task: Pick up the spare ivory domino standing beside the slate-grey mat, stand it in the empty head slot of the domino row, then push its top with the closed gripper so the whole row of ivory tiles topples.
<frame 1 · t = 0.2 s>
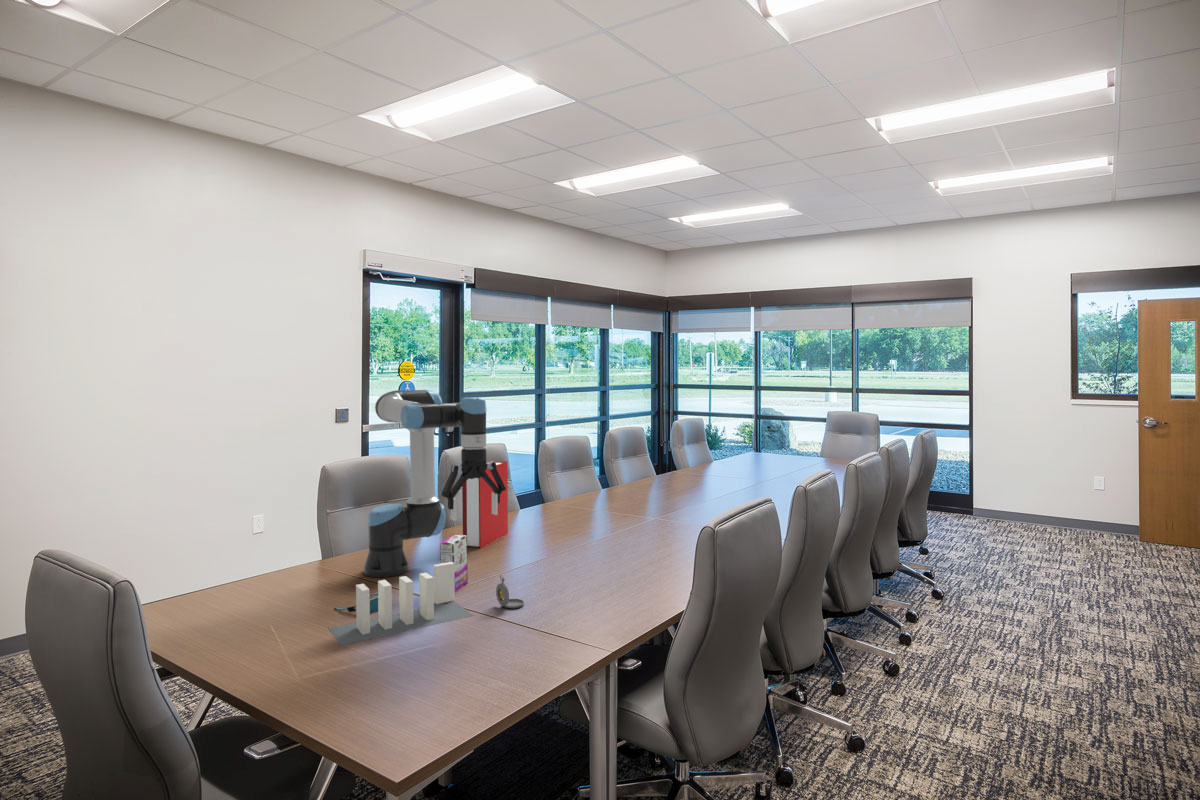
hand: (474, 517, 203), 27 cm above the table, fingers open, 13 cm apart
pocket watch: (509, 606, 202), on the table
domino 4: (385, 625, 185), resting on mat
domino 3: (406, 620, 189), resting on mat
domino 5: (363, 630, 182), resting on mat
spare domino: (444, 602, 205), on the table
candy bar box: (454, 588, 219), on the table
sunglasses: (365, 608, 202), on the table
domino 2: (426, 616, 192), resting on mat
book: (487, 540, 282), on the table
mat: (403, 623, 188), on the table
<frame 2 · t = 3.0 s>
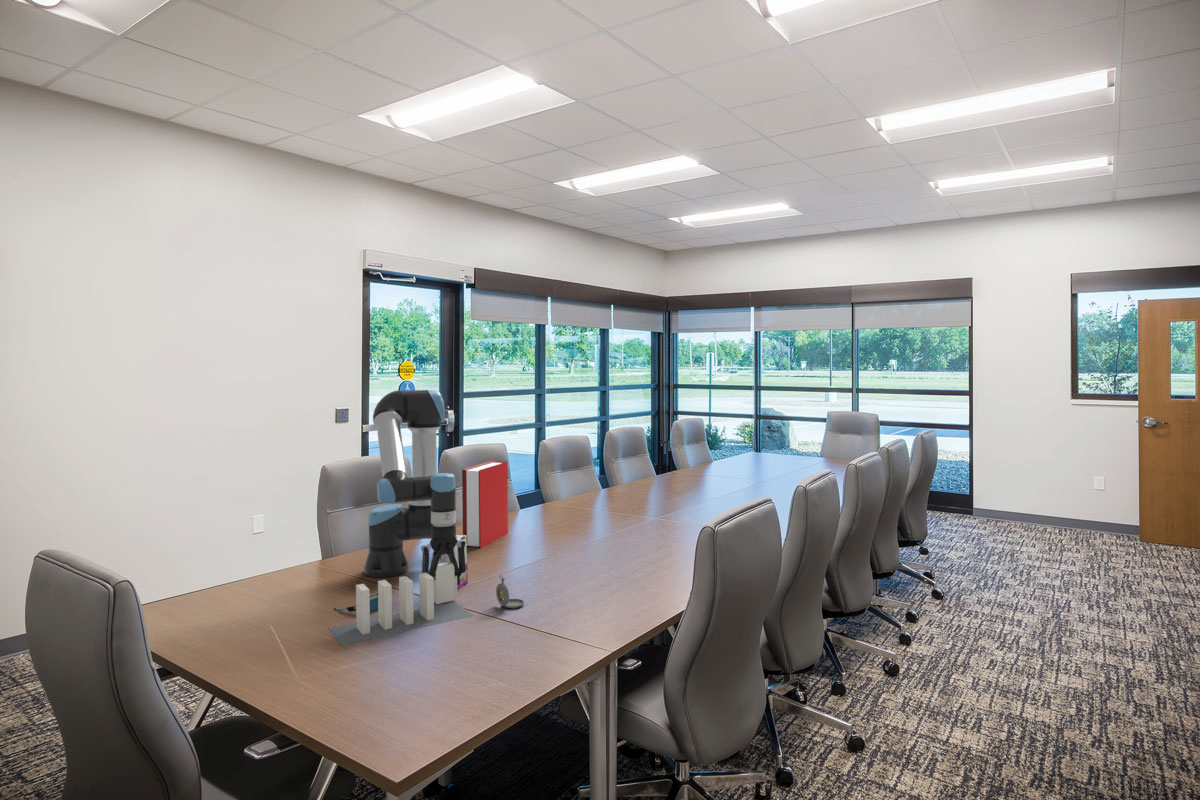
hand: (444, 597, 205), 1 cm above the table, fingers closed on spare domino, 6 cm apart
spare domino: (444, 602, 205), on the table, touching gripper
everything else where it was.
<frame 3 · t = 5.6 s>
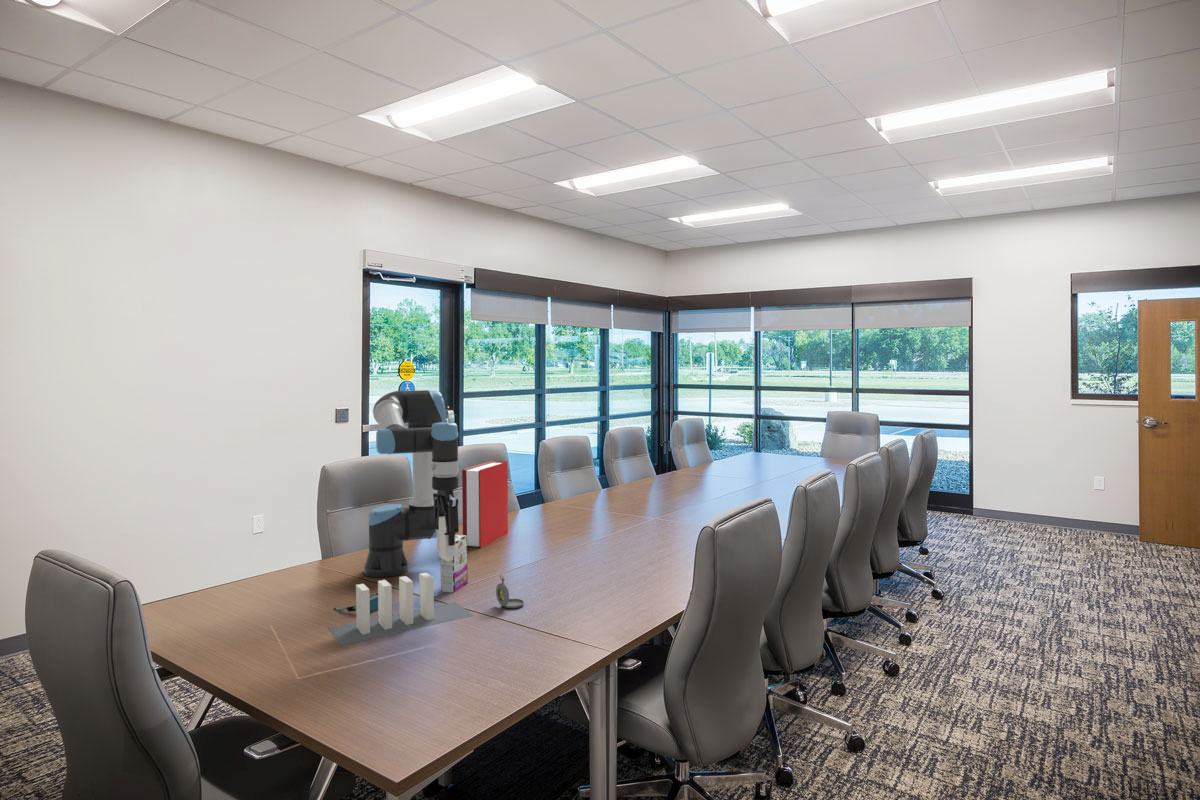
hand: (446, 553, 195), 18 cm above the table, fingers closed on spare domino, 6 cm apart
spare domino: (446, 558, 195), point 17 cm above the table, touching gripper
everything else where it was.
when the fingers open (3 cm above the table, at t = 8.4 s): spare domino drops 1 cm, resting on mat.
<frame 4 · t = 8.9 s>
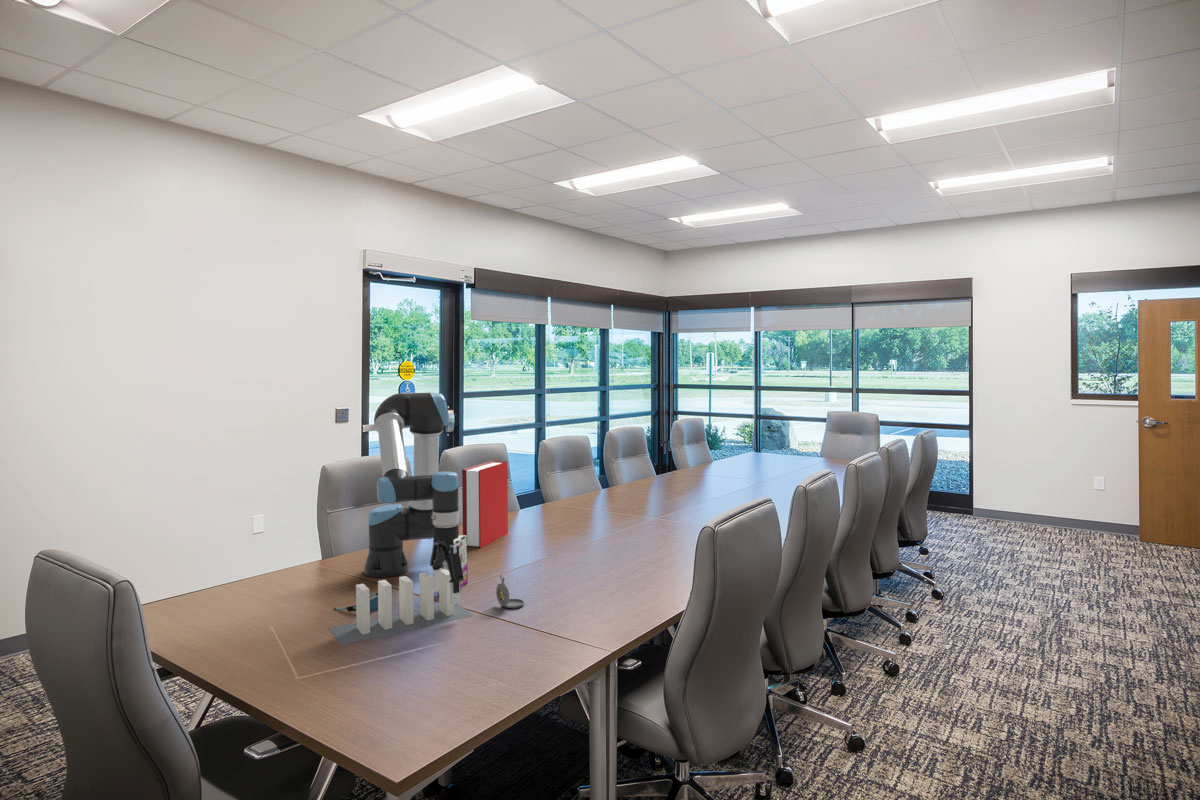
hand: (446, 597, 195), 5 cm above the table, fingers open, 12 cm apart
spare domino: (446, 612, 196), resting on mat
everything else where it was.
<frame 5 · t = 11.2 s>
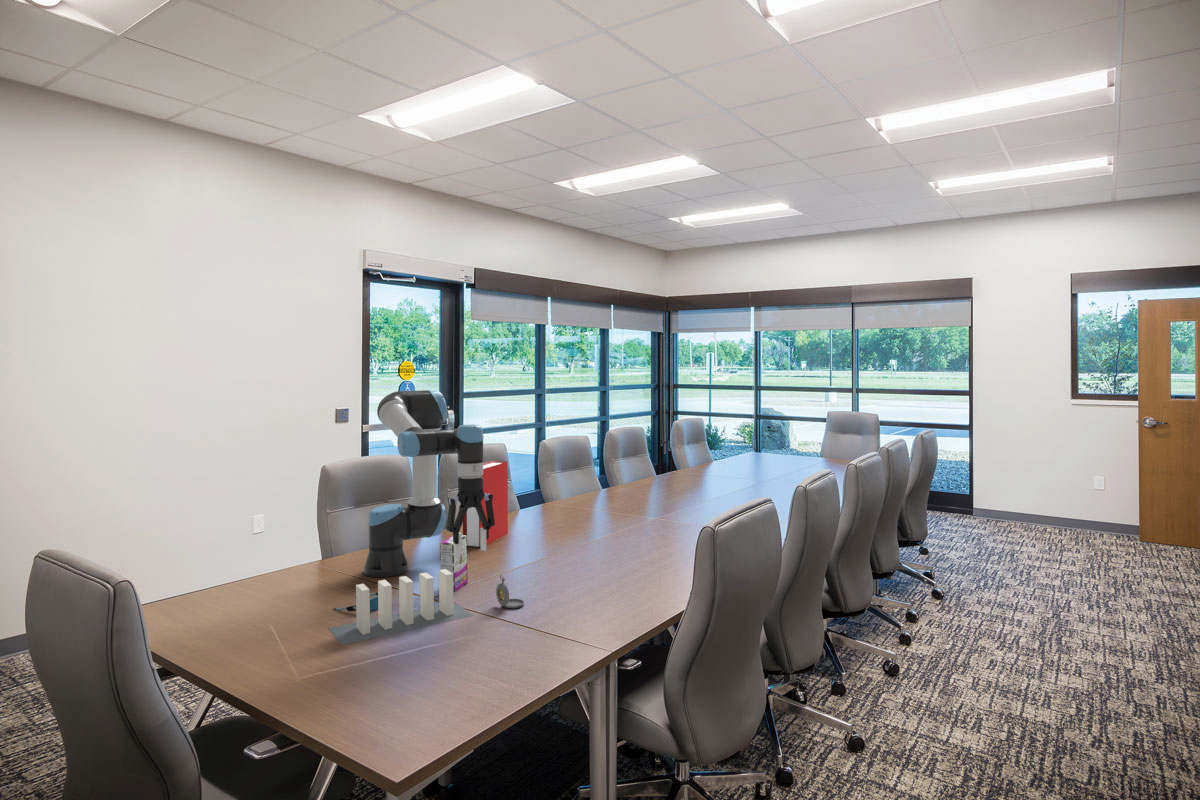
hand: (471, 552, 199), 17 cm above the table, fingers open, 7 cm apart
nothing on the table moved.
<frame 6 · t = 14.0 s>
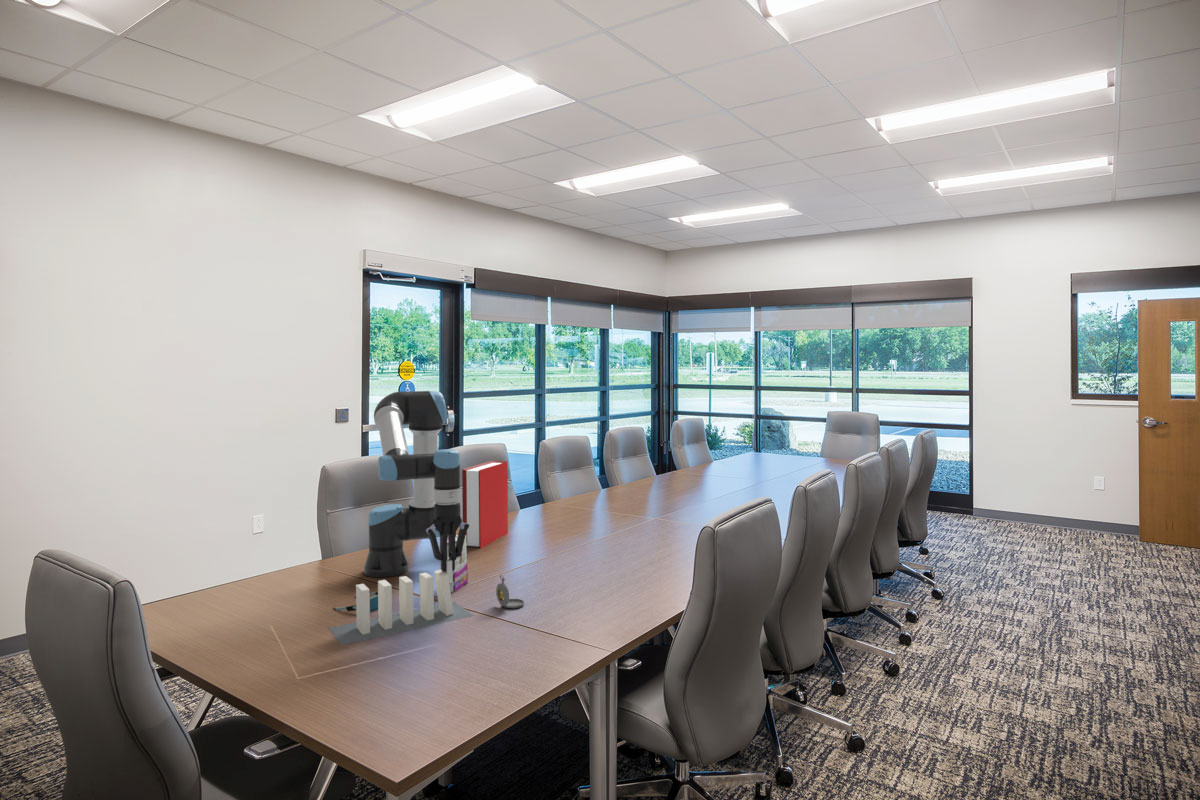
hand: (448, 581, 195), 9 cm above the table, fingers closed
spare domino: (446, 611, 195), point 1 cm above the table, tilted 8°, touching mat
everything else where it was.
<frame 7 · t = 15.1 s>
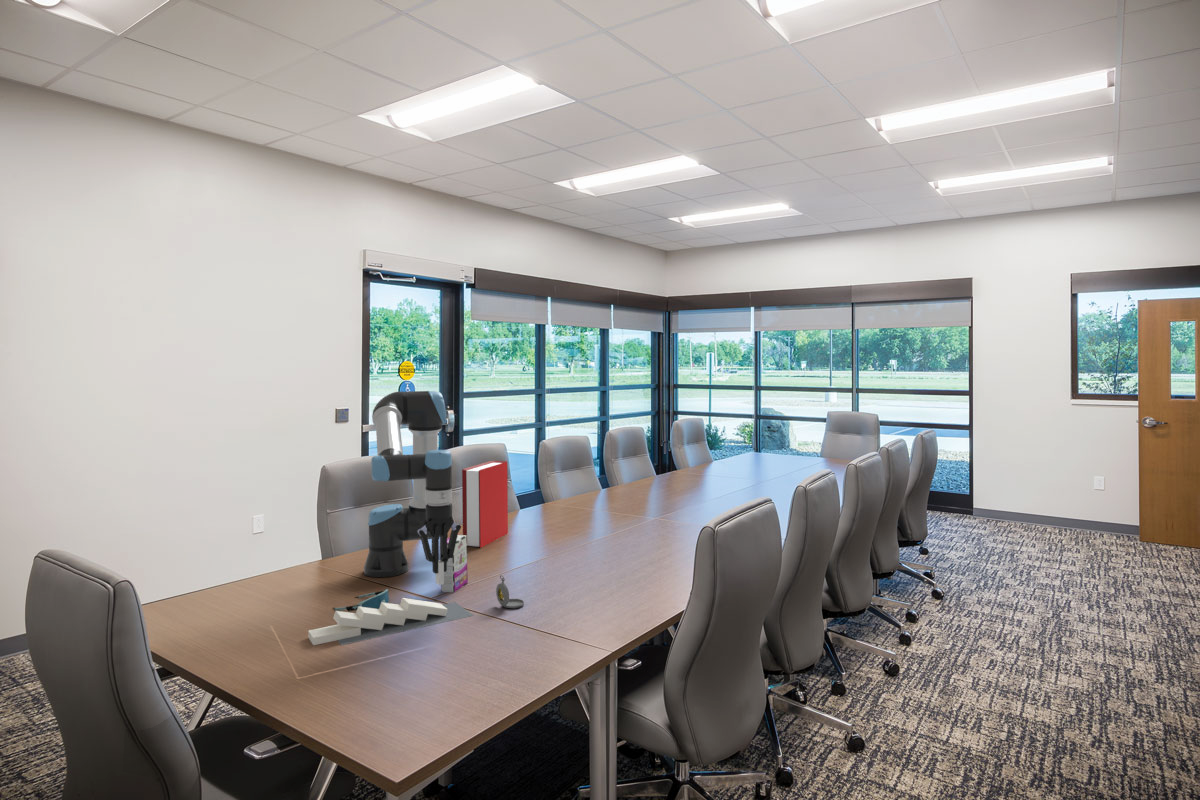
hand: (439, 583, 194), 9 cm above the table, fingers closed
domino 4: (379, 623, 184), point 1 cm above the table, tilted 71°, touching domino 3, domino 5, mat
domino 3: (401, 618, 188), point 1 cm above the table, tilted 71°, touching domino 2, domino 4
domino 5: (357, 627, 181), point 1 cm above the table, tilted 90°, touching domino 4, mat
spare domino: (442, 609, 195), point 1 cm above the table, tilted 71°, touching domino 2
domino 2: (423, 614, 191), point 1 cm above the table, tilted 71°, touching domino 3, mat, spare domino
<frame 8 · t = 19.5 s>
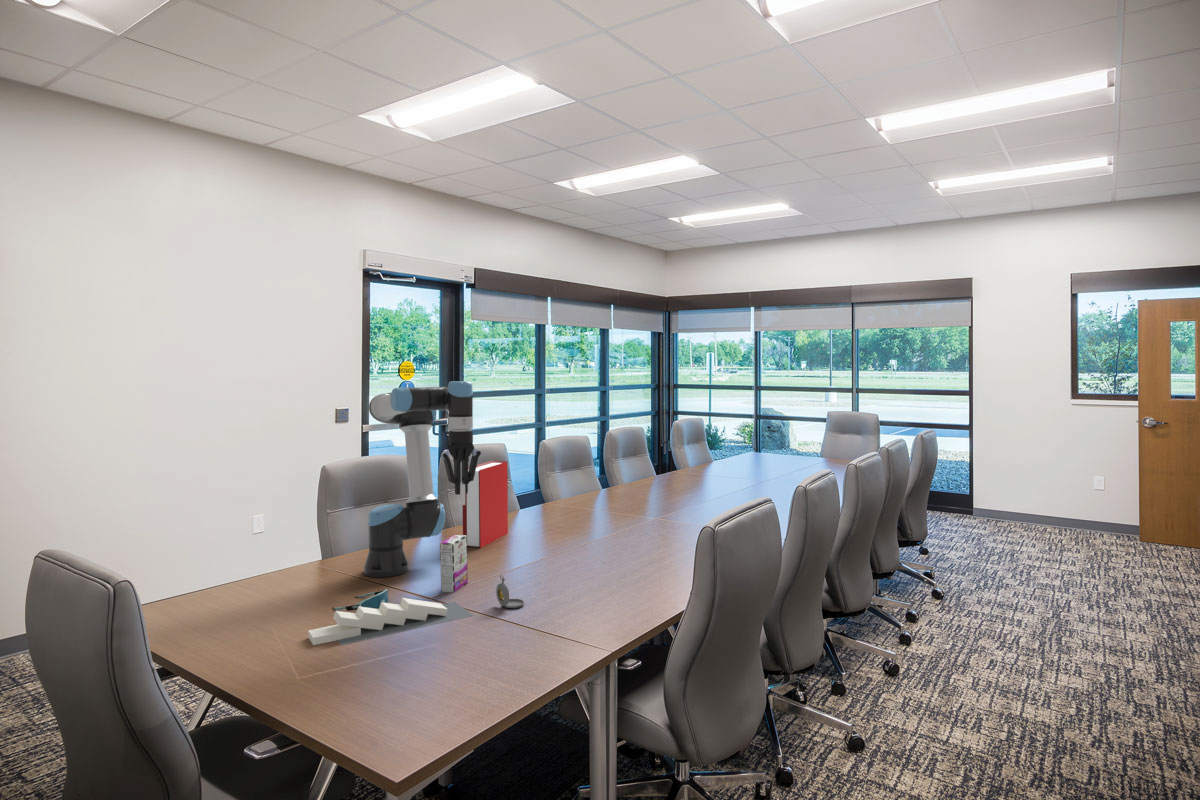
hand: (461, 504, 210), 29 cm above the table, fingers closed
at the end: domino 5 tilted 90°; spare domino tilted 71°; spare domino inside the target area (0.6 cm from its centre), point 1.4 cm above the table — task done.
